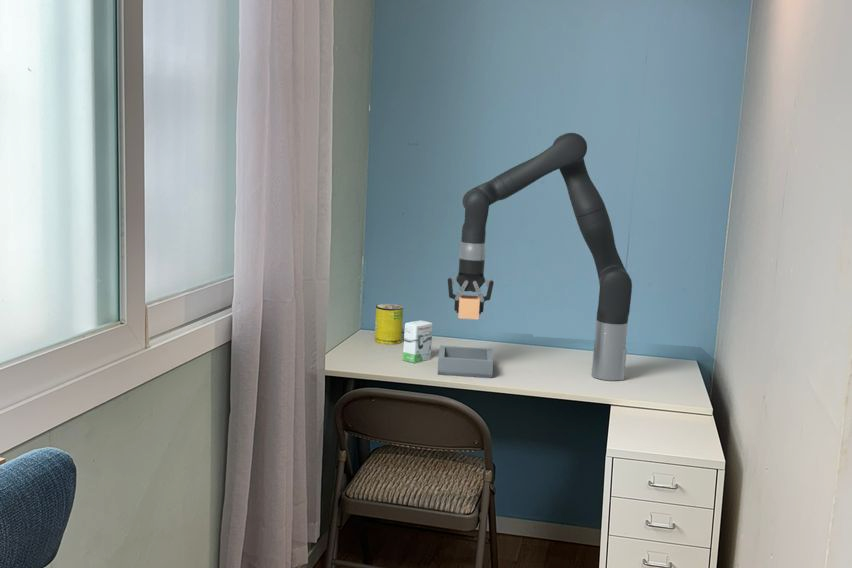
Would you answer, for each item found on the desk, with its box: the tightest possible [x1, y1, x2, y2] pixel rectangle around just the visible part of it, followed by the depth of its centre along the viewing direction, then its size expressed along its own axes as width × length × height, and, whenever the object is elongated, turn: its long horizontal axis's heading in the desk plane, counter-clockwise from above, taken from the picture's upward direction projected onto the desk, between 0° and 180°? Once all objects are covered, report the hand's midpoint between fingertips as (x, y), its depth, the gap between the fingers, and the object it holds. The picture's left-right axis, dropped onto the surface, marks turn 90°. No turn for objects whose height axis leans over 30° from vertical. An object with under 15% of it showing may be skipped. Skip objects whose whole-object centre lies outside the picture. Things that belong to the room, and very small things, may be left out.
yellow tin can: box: [374, 303, 404, 346], centre depth 300 cm, size 9×9×12 cm
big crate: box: [437, 345, 494, 379], centre depth 270 cm, size 16×16×5 cm
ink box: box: [402, 319, 434, 364], centre depth 278 cm, size 9×5×12 cm, turn 142°
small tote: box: [457, 294, 480, 320], centre depth 267 cm, size 6×6×6 cm
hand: (468, 312), depth 267 cm, fingers closed on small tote, 6 cm apart
